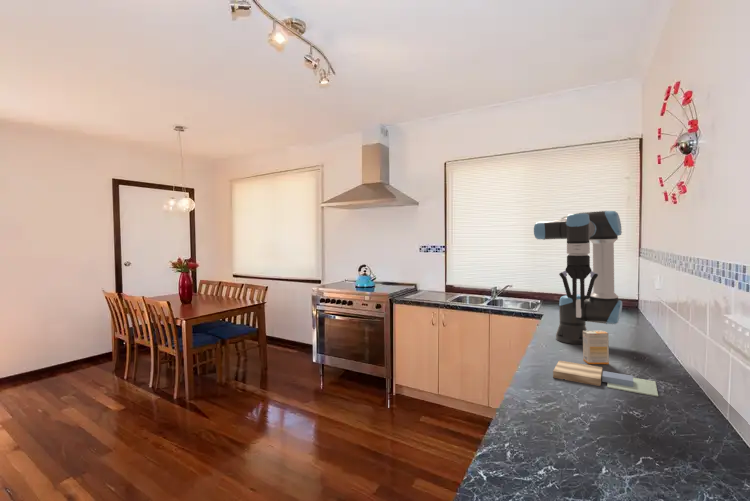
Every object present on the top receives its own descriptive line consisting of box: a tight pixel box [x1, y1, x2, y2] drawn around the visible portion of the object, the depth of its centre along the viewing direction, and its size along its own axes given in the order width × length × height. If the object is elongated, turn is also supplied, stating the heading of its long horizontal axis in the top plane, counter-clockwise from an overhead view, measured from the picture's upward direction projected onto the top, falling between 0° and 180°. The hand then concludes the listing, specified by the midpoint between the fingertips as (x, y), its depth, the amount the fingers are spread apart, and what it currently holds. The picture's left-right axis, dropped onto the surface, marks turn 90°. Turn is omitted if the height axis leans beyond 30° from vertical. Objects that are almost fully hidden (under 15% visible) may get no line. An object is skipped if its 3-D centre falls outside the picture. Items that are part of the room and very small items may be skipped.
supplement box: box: [582, 329, 610, 365], centre depth 149 cm, size 8×5×13 cm, turn 84°
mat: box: [606, 377, 659, 398], centre depth 126 cm, size 14×14×1 cm
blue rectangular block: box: [601, 370, 634, 387], centre depth 128 cm, size 9×6×2 cm, turn 55°
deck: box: [552, 360, 603, 387], centre depth 136 cm, size 14×15×2 cm
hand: (578, 316), depth 135 cm, fingers closed
